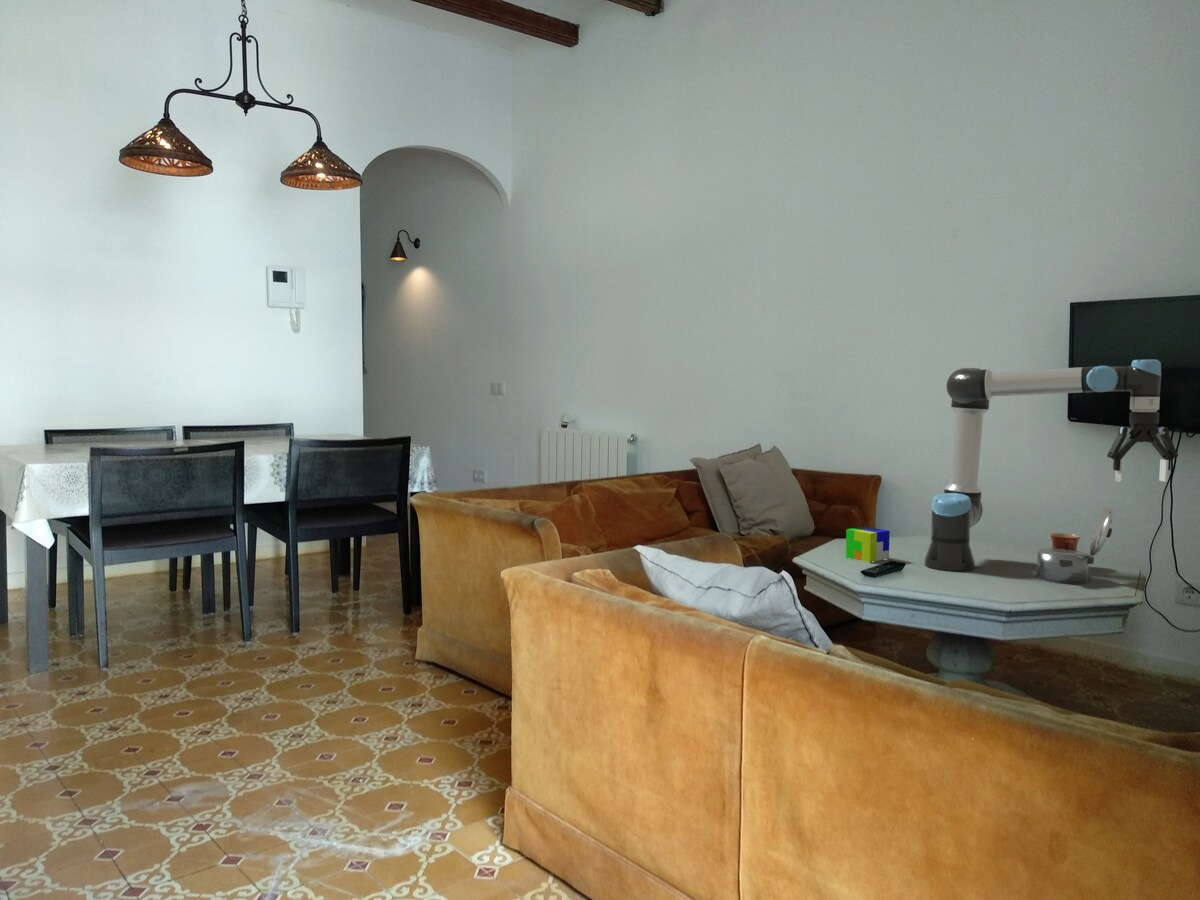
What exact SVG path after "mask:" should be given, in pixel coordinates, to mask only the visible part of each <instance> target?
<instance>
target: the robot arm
mask: <svg viewBox="0 0 1200 900" xmlns="http://www.w3.org/2000/svg"><path fill="white" fill-rule="evenodd" d="M947 378H948V379H947V381H946V385H945V386H946V387H945V388H946V392H947V394H948V396H949V398H951V403H950V406H951V407H950V408H951V410H952V411H953V412H954V413H955V416H954V417H955V418H954V426H953V427H954V428H953V440H952V449H951V450H952V451H951V453H952V454H951V461H950V462H951V463H950V473H949V474H950V475H949V482H948V484H947V485H946V486H945V487H944V492H943V493H939V494H936V495H935V496H934V497H933V498H932V502H931V529H930V530H931V536H930V543H929V547H928V550H927V551H926V554H925V557H924V566H926V567H927V568H931V569H935V570H940V571H941V570H942V571H951V572H967V571H972V570H974V569H975V563H976V562H975V558H974V556H973V555H974V554H973V552H972V549H971V546H970V545H971V544H970V542H971V541H970V539H971V538H970V537H971V536H970V535H971V528H972V527H974V526H975V525H976V524H978V522H979V521H980V520H981V519H982V516H983V511H984V509H983V508H984V507H983V504H982V502H981V501H982V489H981V488H979V486H978V480H979V479H978V478H979V468H980V467H979V466H980V455H981V443H982V432H983V423H984V422H983V420H984V414H985V413H987V412H988V411H990V409H989V408H990V400H991V399H992V398H993V397H1009V396H1030V395H1033V396H1034V395H1052V394H1053V395H1056V394H1072V393H1073V394H1076V393H1107V392H1130V396H1129V397H1130V398H1129V399H1130V400H1129V410H1130V412H1129V419H1128V421H1129V422H1128V423H1129V427H1125V426H1119V427H1118V431H1117V432H1118V433H1117V435H1116V437H1115V439H1114V441H1113V444H1112V445H1111V447H1110V448H1109V451H1108V453H1107V455H1106V457H1107V458H1110V459H1111V460H1112V461H1113V465H1112V470H1113V471H1115V472H1114V473H1115V476H1114V481H1115V482H1119V483H1124V469H1125V460H1123V458H1124V456H1126V455H1127V453H1128V452H1129V451H1130V450H1131V449H1132V448H1133V446H1135V444H1137V443H1150V444H1151V445H1152V446H1153V448H1154V449H1155V450H1156V451H1157V453H1158V454H1159V455H1160V456H1161V458H1162V459H1161V458H1160V459H1159V475H1158V476H1159V478H1158V481H1159V482H1164V483H1165V482H1167V483H1168V481H1169V479H1168V478H1169V471H1171V465H1172V462H1171V461H1173V460H1174V459H1176V458H1178V457H1179V454H1178V452H1177V449H1176V448H1175V445H1174V443H1173V441H1172V439H1171V436H1170V431H1169V427H1166V426H1160V427H1158V425H1159V423H1160V413H1159V410H1160V399H1161V397H1160V395H1161V384H1162V383H1161V381H1162V363H1161V361H1160V360H1159V359H1134V360H1132V362H1131V364H1130V365H1129V366H1128V365H1127V366H1109V365H1097V366H1086V367H1085V366H1084V367H1083V366H1081V367H1066V368H1065V367H1064V368H1047V369H1045V368H1044V369H1030V370H1029V369H1027V370H1011V371H1010V370H1009V371H996V372H995V371H994V372H993V371H991V370H990V369H989V368H988V369H981V368H976V367H962V368H959V369H956V370H955V371H953V372H952V373H951V374H950V375H949V377H947ZM1158 434H1159V437H1160V439H1159V437H1158V436H1157V435H1158ZM1127 435H1129V436H1128V438H1127ZM1126 438H1127V439H1126ZM1161 441H1162V442H1161Z"/></svg>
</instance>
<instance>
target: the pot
mask: <svg viewBox="0 0 1200 900" xmlns="http://www.w3.org/2000/svg"><path fill="white" fill-rule="evenodd" d="M1094 560H1095V559H1094V556H1092V555H1090V553H1086V552H1083V551H1080V550H1077V551H1075V550H1067V549H1052V548H1041V549H1038V550H1037V552H1036V570H1035V571H1036V574H1035V575H1036V576H1035V577H1036V578H1037V579H1038V578H1039V580H1041V581H1044V580H1045V581H1044V582H1048V581H1049V583H1054V582H1055V583H1054V584H1062V585H1063V584H1067V585H1081V584H1082V585H1083V584H1087V583H1088V582H1089V565H1094V564H1095V563H1094Z"/></svg>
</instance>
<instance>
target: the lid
mask: <svg viewBox="0 0 1200 900" xmlns="http://www.w3.org/2000/svg"><path fill="white" fill-rule="evenodd" d="M1112 521H1113V508H1112V507H1111V506H1109V505H1108V506H1107V505H1106V506H1105V507H1103V509H1102V511H1101V512H1100V514H1099V517H1098V519H1097V521H1096V523H1095V527H1094V530H1093V533H1092V537H1091V541H1090V545H1089V551H1090V552H1089V556H1093V557H1094V556H1095V555H1098V553H1100V551H1101V549H1102V547H1104V546H1103V545H1104V544H1105V541H1106V538H1108V539H1110V537H1111V535H1112V531H1113V528H1112V527H1111V524H1112Z"/></svg>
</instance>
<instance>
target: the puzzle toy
mask: <svg viewBox="0 0 1200 900" xmlns="http://www.w3.org/2000/svg"><path fill="white" fill-rule="evenodd" d="M890 532H891V530H888V529H881V528H876V527H869V526H862V527H861V526H860V527H854V528H847V529H846V531H845V533H846V534H845V537H846V539H845V541H846V542H845V559H848V558H851V559H850V560H853V559H857V560H862V561H868V562H872V561H878V560H884V559H889V560H890ZM857 560H856V561H857ZM862 561H861V562H862ZM884 561H885V560H884Z"/></svg>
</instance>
